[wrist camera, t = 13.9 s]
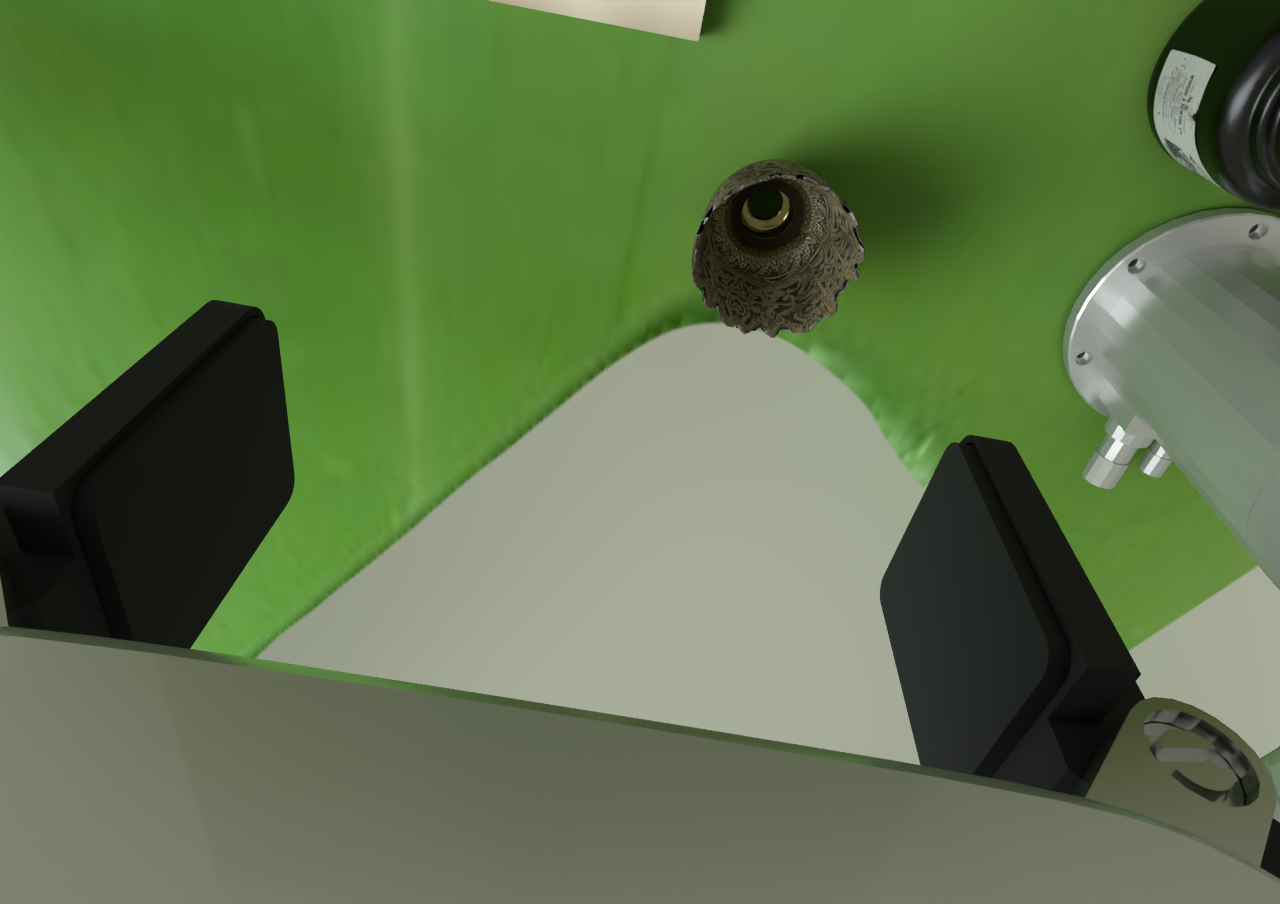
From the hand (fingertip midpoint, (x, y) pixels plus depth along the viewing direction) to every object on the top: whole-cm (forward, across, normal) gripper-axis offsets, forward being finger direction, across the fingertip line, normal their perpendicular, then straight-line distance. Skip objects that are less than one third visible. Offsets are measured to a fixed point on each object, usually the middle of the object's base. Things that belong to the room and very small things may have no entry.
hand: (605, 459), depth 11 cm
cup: (+32, -6, +6) cm, 33 cm away
